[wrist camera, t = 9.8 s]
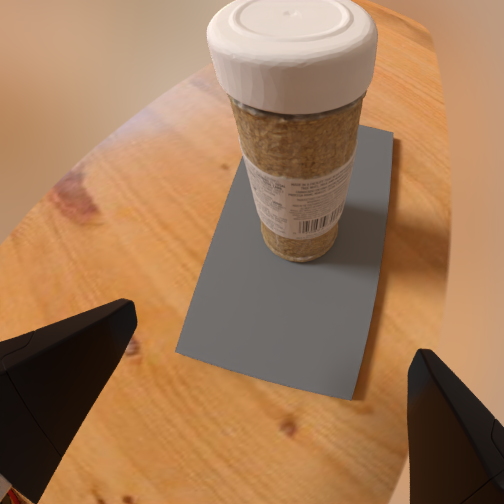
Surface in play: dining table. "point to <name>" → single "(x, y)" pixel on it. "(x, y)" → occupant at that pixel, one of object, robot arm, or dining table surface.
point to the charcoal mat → (294, 287)
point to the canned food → (12, 497)
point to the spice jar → (296, 109)
